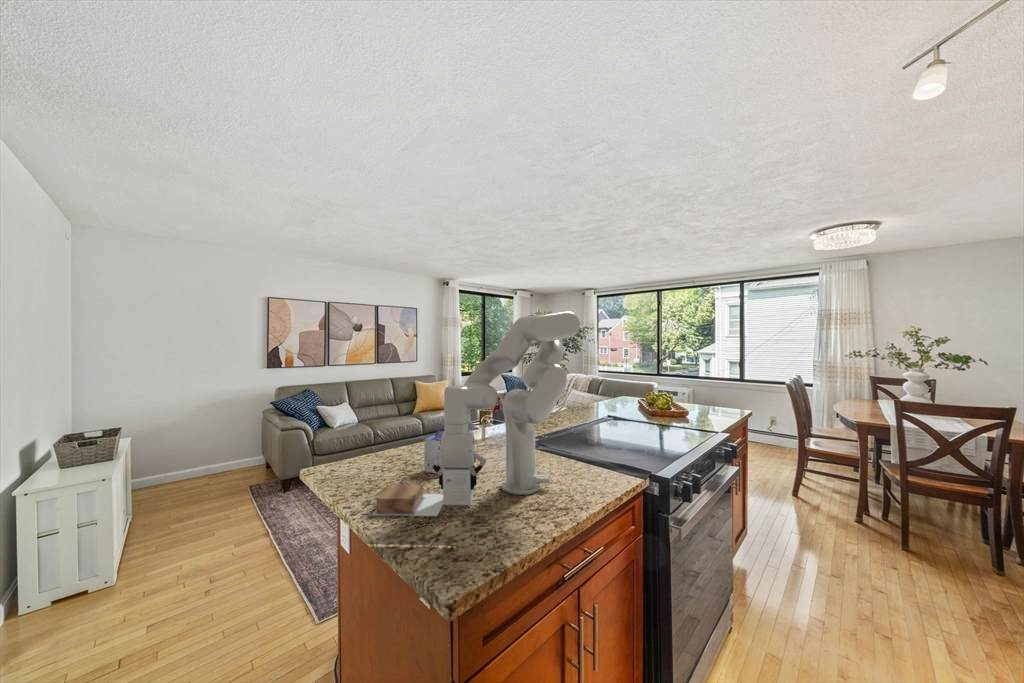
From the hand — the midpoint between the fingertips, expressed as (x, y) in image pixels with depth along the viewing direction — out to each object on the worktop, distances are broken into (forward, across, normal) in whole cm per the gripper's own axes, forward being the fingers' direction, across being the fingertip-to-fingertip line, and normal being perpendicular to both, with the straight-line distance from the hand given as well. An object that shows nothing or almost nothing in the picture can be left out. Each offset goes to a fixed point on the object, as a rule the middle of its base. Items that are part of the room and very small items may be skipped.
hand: (457, 487), depth 109 cm
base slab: (+4, +16, +3) cm, 17 cm away
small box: (+5, 0, 0) cm, 5 cm away
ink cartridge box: (+5, +12, -26) cm, 29 cm away
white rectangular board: (+5, +13, +2) cm, 14 cm away
